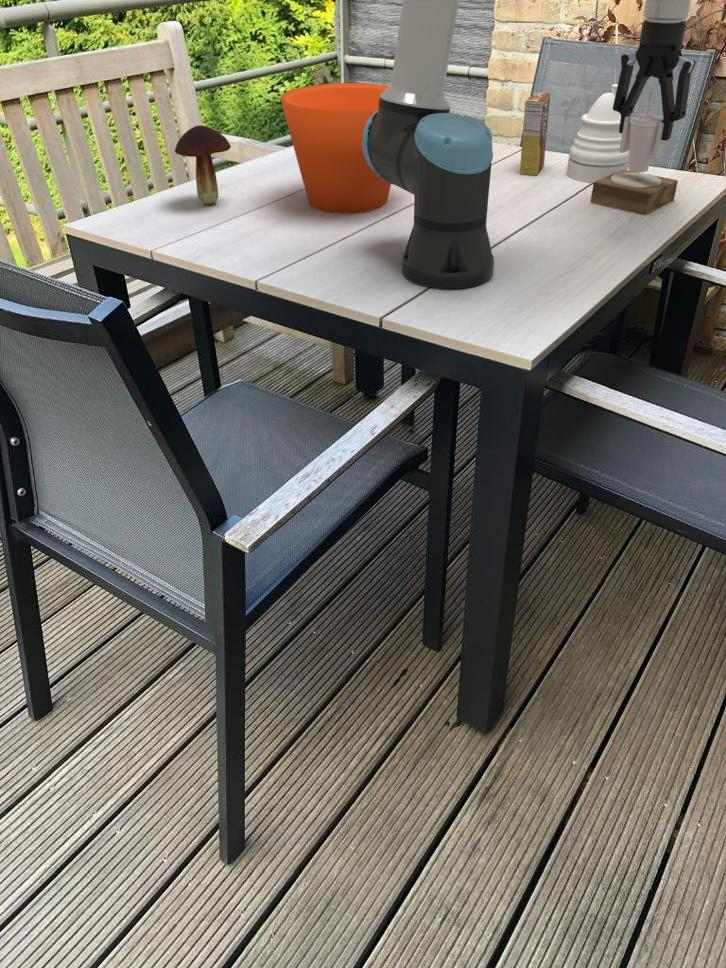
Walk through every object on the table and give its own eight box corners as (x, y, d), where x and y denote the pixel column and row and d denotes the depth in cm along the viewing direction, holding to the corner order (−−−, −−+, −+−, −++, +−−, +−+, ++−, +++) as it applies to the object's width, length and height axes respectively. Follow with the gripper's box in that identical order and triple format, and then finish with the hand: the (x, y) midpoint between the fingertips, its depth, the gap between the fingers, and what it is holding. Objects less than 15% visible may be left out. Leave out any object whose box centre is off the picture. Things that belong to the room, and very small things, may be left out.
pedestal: (645, 215, 159) (649, 192, 157) (590, 202, 166) (593, 180, 163) (673, 200, 166) (678, 178, 164) (619, 189, 173) (623, 167, 170)
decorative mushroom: (188, 215, 162) (177, 134, 153) (177, 199, 170) (166, 122, 162) (242, 208, 165) (234, 128, 157) (228, 193, 174) (220, 116, 165)
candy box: (525, 164, 189) (532, 91, 180) (544, 165, 188) (552, 92, 179) (517, 174, 182) (524, 100, 173) (537, 176, 181) (545, 101, 172)
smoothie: (651, 165, 165) (666, 89, 157) (657, 174, 160) (672, 96, 151) (619, 164, 165) (631, 88, 157) (623, 174, 160) (637, 95, 152)
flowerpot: (267, 214, 162) (259, 106, 150) (311, 179, 181) (307, 80, 170) (390, 225, 156) (391, 113, 144) (421, 187, 175) (425, 86, 164)
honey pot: (608, 165, 188) (622, 78, 177) (637, 180, 178) (654, 90, 167) (556, 169, 185) (567, 82, 175) (583, 186, 175) (596, 94, 165)
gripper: (726, 21, 144) (696, 159, 158) (626, 13, 155) (606, 142, 168) (707, 26, 140) (678, 167, 153) (605, 17, 150) (587, 149, 164)
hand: (640, 154), depth 161 cm, fingers closed on smoothie, 6 cm apart
